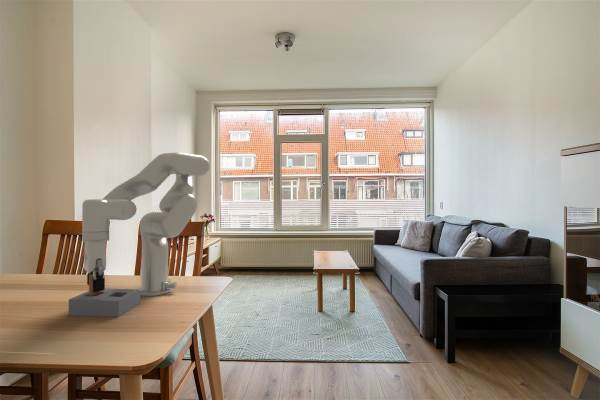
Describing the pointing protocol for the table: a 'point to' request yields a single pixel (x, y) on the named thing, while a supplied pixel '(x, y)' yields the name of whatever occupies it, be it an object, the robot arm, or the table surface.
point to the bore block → (105, 303)
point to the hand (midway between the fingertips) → (95, 287)
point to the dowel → (92, 286)
